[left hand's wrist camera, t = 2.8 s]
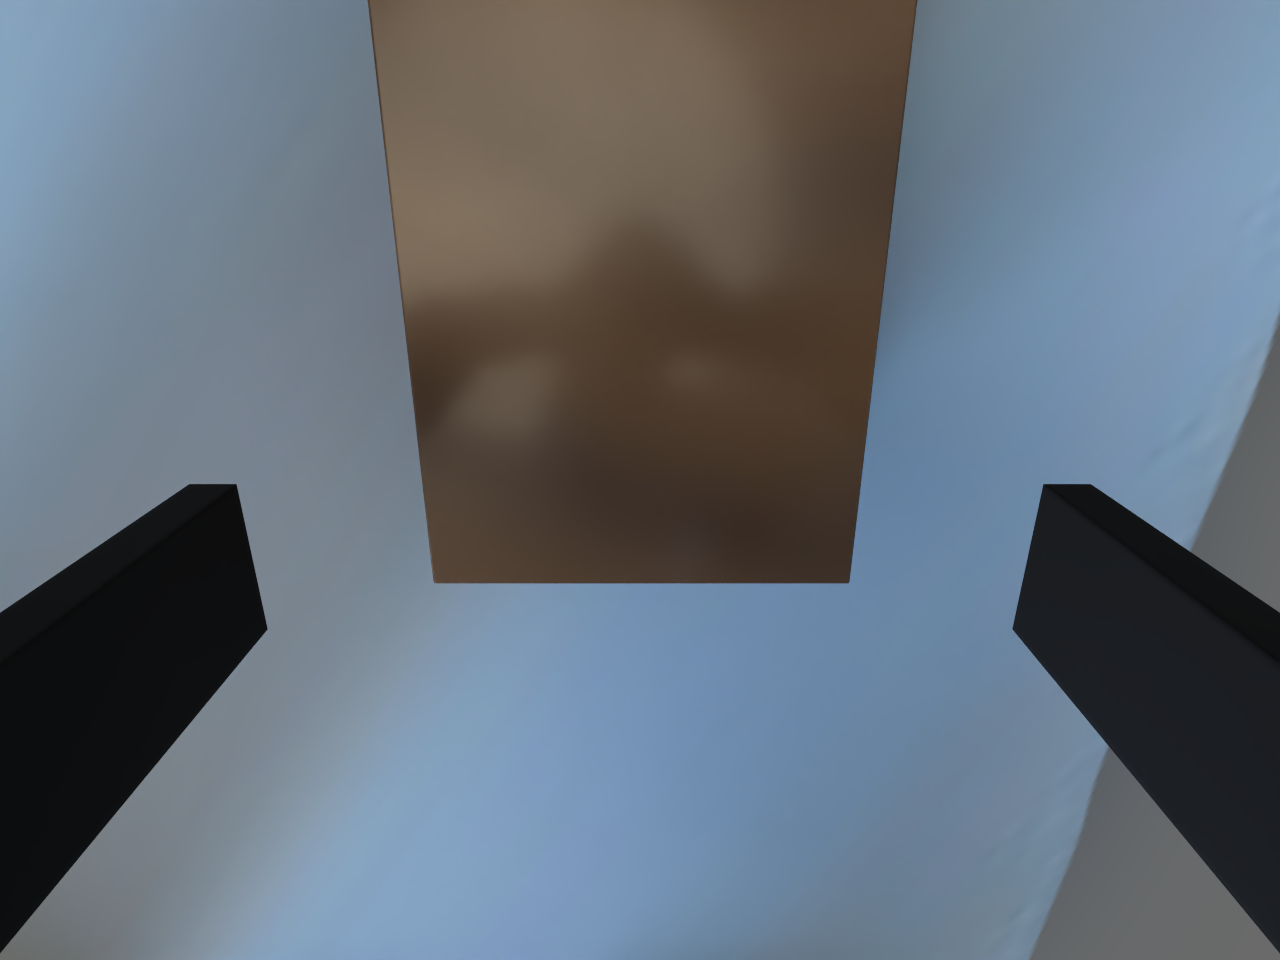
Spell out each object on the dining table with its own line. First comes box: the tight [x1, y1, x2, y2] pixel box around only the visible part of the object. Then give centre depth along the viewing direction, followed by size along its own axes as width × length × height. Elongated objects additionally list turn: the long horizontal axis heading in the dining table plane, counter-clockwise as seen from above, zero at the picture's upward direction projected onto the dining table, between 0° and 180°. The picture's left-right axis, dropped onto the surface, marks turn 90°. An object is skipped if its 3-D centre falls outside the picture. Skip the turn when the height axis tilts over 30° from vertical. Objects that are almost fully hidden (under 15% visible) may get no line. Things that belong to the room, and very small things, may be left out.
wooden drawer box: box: [368, 0, 917, 583], centre depth 20 cm, size 21×11×11 cm, turn 0°
